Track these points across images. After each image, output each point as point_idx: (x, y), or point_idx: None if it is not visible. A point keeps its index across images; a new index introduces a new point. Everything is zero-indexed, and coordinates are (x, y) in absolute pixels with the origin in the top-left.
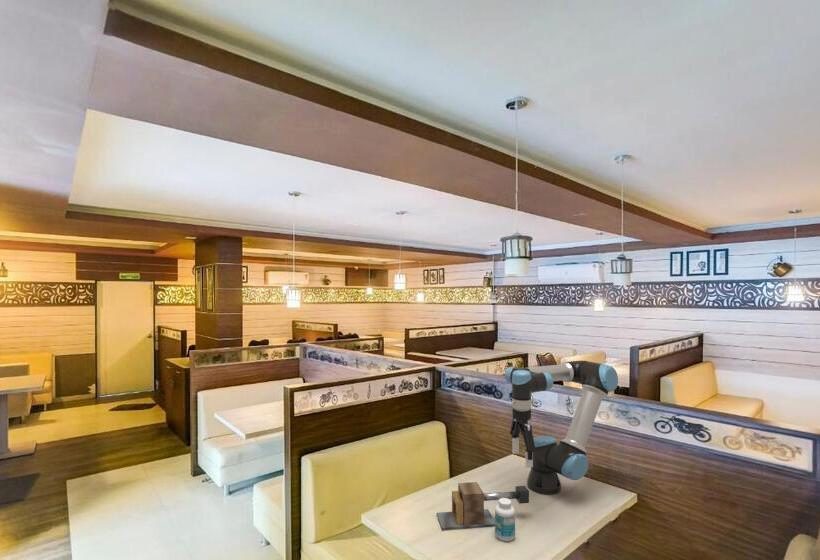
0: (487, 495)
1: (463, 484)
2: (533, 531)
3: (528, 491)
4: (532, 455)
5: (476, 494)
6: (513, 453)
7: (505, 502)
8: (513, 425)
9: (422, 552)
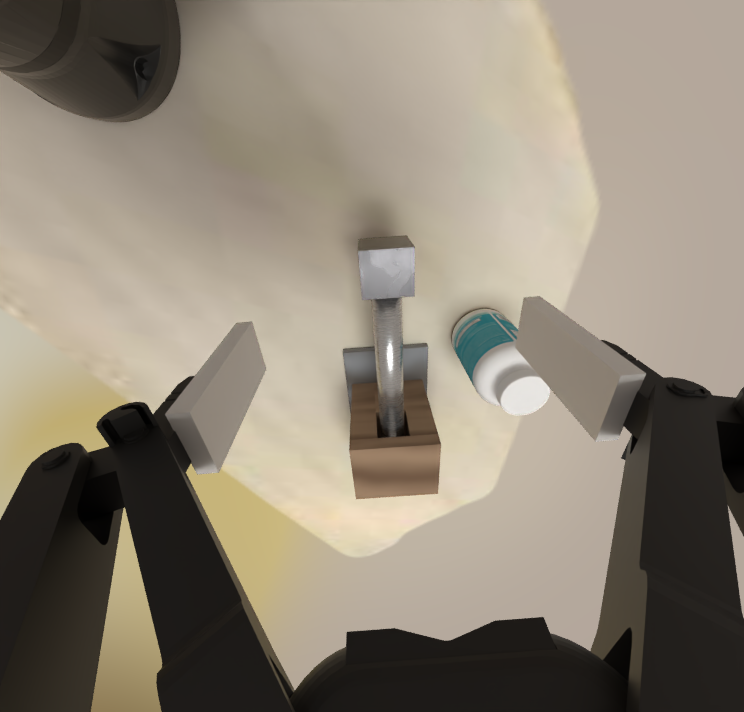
0: (400, 408)
1: (367, 488)
2: (473, 236)
3: (413, 249)
4: (603, 345)
5: (439, 462)
6: (265, 368)
7: (534, 397)
8: (82, 701)
9: (489, 492)
